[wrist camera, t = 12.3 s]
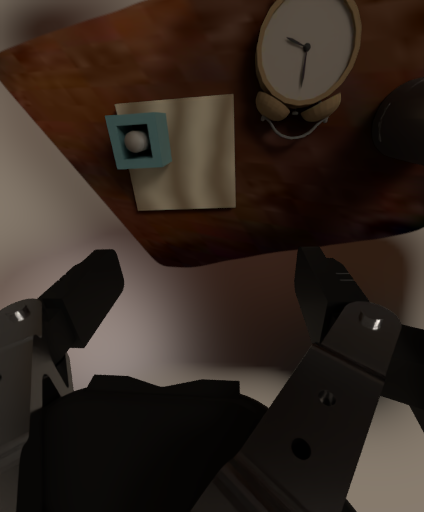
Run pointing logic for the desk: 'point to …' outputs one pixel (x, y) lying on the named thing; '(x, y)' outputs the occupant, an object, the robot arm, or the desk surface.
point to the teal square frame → (157, 135)
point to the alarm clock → (305, 57)
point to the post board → (186, 154)
